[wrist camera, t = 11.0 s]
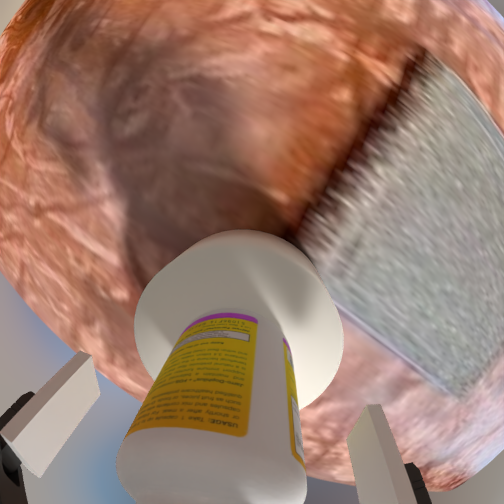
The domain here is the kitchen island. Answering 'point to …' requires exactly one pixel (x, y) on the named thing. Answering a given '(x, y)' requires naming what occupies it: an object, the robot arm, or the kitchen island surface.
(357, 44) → the kitchen island surface
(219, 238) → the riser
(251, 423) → the supplement bottle
